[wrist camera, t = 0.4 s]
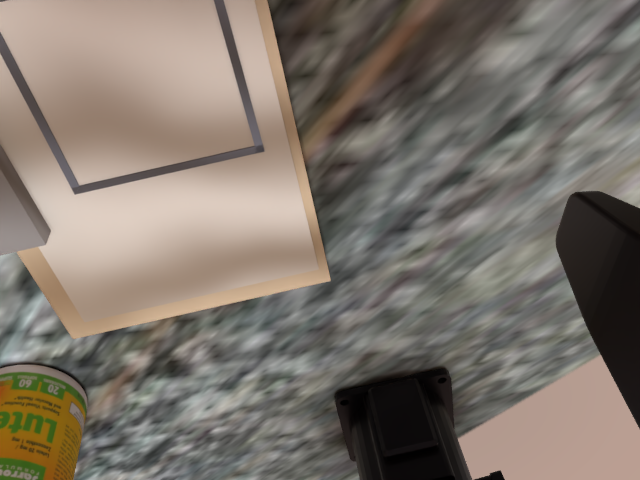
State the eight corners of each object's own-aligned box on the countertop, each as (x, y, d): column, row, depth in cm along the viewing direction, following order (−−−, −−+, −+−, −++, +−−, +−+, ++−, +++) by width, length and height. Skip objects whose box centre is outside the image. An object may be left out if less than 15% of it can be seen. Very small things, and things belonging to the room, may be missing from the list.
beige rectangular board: (328, 269, 28) (334, 297, 27) (76, 326, 28) (68, 357, 27) (220, -205, 17) (221, -202, 15) (-199, -109, 17) (-238, -97, 15)
